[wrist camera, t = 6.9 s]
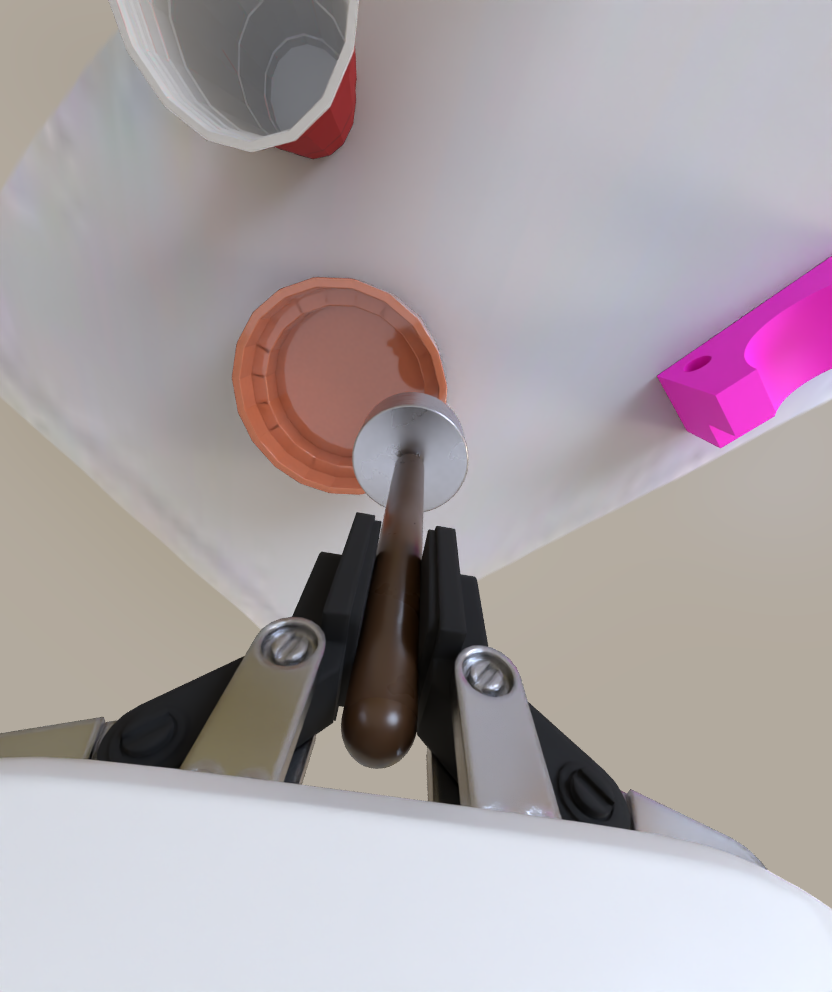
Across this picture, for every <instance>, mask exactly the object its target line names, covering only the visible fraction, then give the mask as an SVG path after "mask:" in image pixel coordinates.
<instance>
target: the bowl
mask: <svg viewBox="0 0 832 992" xmlns="http://www.w3.org/2000/svg"><path fill="white" fill-rule="evenodd" d="M232 381H233V387H234V393H235V398H236V404H237V410H238V413H239V415H240V417H241V419H242V421H243V423H244V425H245V427H246V429H247V431H248V433H249V435H250V437H251V439H252V441H253V443H254V444H255V445H256V446H257V447H258V448H259V449H260V450H261V451H262V453H263V454H264V455H265V456H266V457H267V458H268V459H269V460H270V462H271V463H272V464H273V465H274V466H275V467H276V468H278V469H279V470H281V471H283V472H284V473H286V474H287V475H289V476H290V477H292V478H293V479H295V480H296V481H298V482H299V483H301V484H304V485H307V486H310V487H313V488H316V489H319V490H322V491H325V492H328V493H335V494H356V495H360V494H365V492H364V490H363V489H362V487H361V486H360V484H359V482H358V481H357V478H356V476H355V473H354V469H353V463H352V451H353V446H354V443H355V440H356V437H357V435H358V433H359V431H360V429H361V427H362V426H363V424H364V422H365V420H366V418H367V416H368V415H369V413H370V412H371V411H372V410H373V408H374V407H375V406H376V405H378V404H379V403H380V402H381V401H383V400H385V399H386V398H388V397H390V396H393V395H396V394H399V393H405V392H418V393H424V394H428V395H431V396H433V397H436V398H437V399H439V400H441V401H442V402H444V403H445V404H446V397H447V383H446V378H445V374H444V370H443V366H442V362H441V357H440V353H439V349H438V346H437V344H436V342H435V340H434V339H433V337H432V335H431V334H430V332H429V331H428V329H427V327H426V326H425V324H424V322H423V321H422V319H421V318H420V316H419V315H418V314H416V313H415V312H414V311H413V310H412V309H411V308H410V307H408V306H407V305H406V304H405V303H404V302H403V301H401V300H400V299H399V298H398V297H397V296H396V295H394V294H392V293H390V292H387V291H385V290H383V289H380V288H378V287H375V286H373V285H370V284H368V283H365V282H363V281H359V280H356V279H351V278H326V277H313V278H310V279H307V280H305V281H302V282H299V283H296V284H293V285H290V286H287V287H284V288H281V289H279V290H278V291H277V292H276V293H275V294H273V295H272V296H271V297H270V298H269V299H268V300H266V301H265V302H264V303H263V304H262V305H261V306H260V307H258V308H257V309H256V310H255V311H254V312H253V313H252V315H251V317H250V319H249V321H248V323H247V324H246V326H245V328H244V330H243V332H242V334H241V336H240V338H239V340H238V342H237V344H236V352H235V359H234V366H233V373H232Z"/></svg>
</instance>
